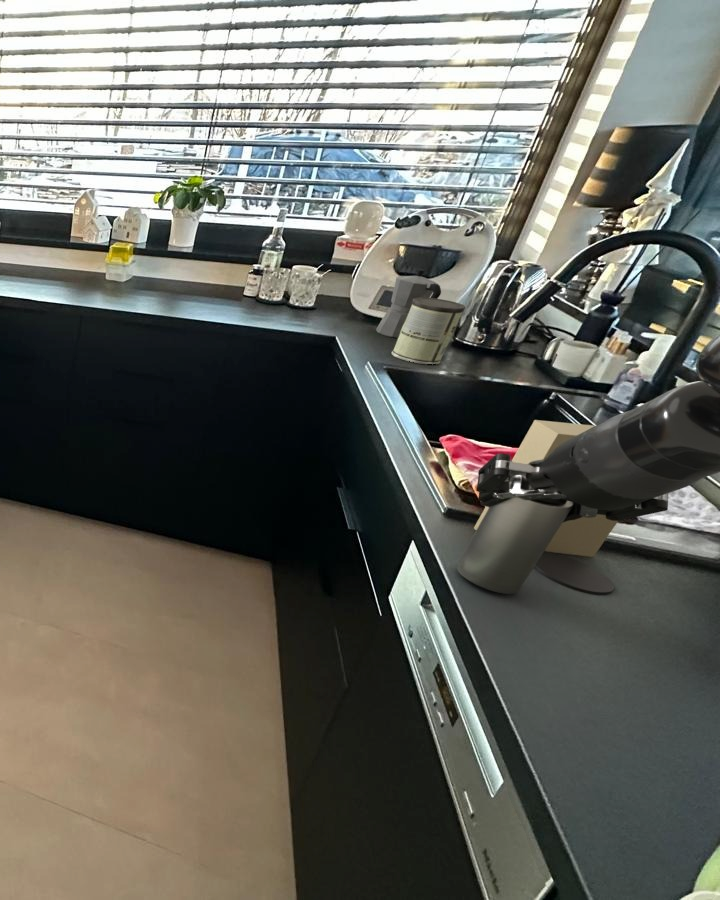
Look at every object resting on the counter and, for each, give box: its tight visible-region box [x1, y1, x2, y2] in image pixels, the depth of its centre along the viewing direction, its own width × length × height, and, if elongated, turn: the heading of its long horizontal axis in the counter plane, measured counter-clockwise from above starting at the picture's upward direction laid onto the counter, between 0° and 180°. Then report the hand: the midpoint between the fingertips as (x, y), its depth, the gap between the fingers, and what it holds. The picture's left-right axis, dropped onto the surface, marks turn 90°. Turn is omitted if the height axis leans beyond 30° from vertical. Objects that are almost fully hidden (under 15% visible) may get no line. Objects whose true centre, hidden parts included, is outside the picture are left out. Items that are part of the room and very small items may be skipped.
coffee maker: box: [473, 419, 619, 596], centre depth 76 cm, size 12×13×18 cm
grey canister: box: [455, 481, 574, 595], centre depth 72 cm, size 6×6×13 cm
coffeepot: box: [375, 268, 442, 339], centre depth 170 cm, size 15×9×18 cm, turn 1°
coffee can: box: [391, 297, 466, 366], centre depth 153 cm, size 10×10×14 cm
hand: (520, 505), depth 72 cm, fingers closed on grey canister, 6 cm apart
